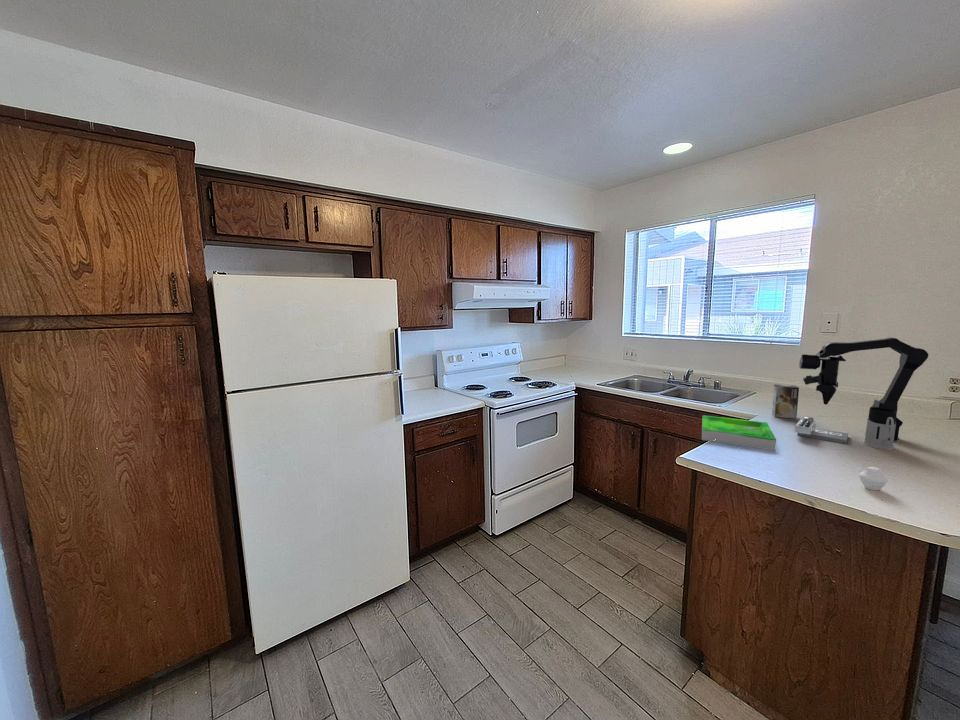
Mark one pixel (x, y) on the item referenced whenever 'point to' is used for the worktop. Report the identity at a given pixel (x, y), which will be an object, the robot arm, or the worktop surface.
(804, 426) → the swing arm
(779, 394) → the coffee box
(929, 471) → the worktop surface
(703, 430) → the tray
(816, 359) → the robot arm
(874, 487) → the white faceted lump
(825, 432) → the label board
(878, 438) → the grey rounded piece
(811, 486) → the worktop surface
